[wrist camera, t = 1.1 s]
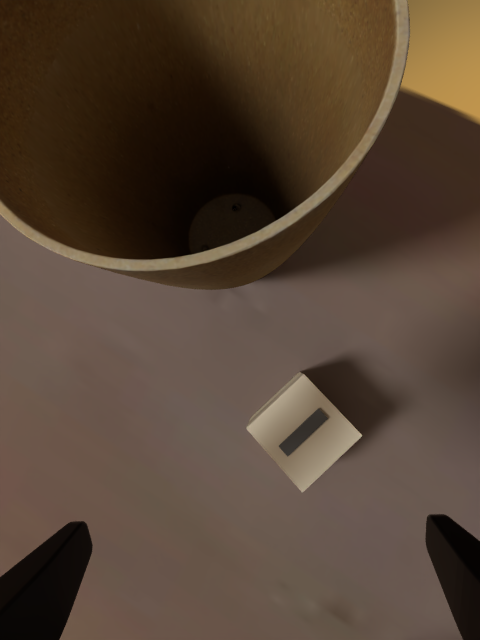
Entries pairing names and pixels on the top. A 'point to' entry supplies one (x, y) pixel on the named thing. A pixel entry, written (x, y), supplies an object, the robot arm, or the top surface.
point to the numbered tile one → (302, 431)
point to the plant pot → (189, 127)
